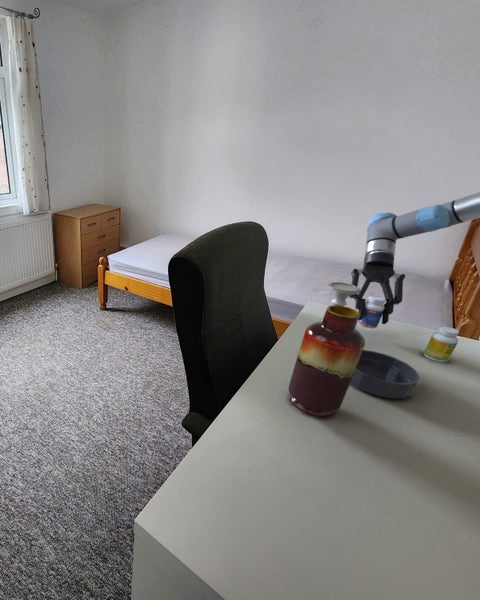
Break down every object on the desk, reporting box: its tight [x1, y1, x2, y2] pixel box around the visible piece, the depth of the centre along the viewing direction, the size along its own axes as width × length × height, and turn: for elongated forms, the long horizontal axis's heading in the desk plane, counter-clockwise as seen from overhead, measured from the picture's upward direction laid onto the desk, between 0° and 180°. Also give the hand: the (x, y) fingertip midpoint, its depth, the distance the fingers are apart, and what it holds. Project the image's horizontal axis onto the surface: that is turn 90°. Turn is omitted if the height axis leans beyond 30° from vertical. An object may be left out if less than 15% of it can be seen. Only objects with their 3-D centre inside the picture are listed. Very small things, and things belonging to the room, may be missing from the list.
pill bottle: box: [357, 294, 386, 329], centre depth 109 cm, size 6×5×10 cm
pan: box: [350, 349, 421, 400], centre depth 91 cm, size 15×15×5 cm
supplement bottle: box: [423, 325, 460, 363], centre depth 99 cm, size 5×5×10 cm
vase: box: [288, 304, 366, 418], centre depth 79 cm, size 11×11×26 cm
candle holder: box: [321, 281, 361, 321], centre depth 104 cm, size 9×9×20 cm
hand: (372, 320), depth 107 cm, fingers closed on pill bottle, 5 cm apart
